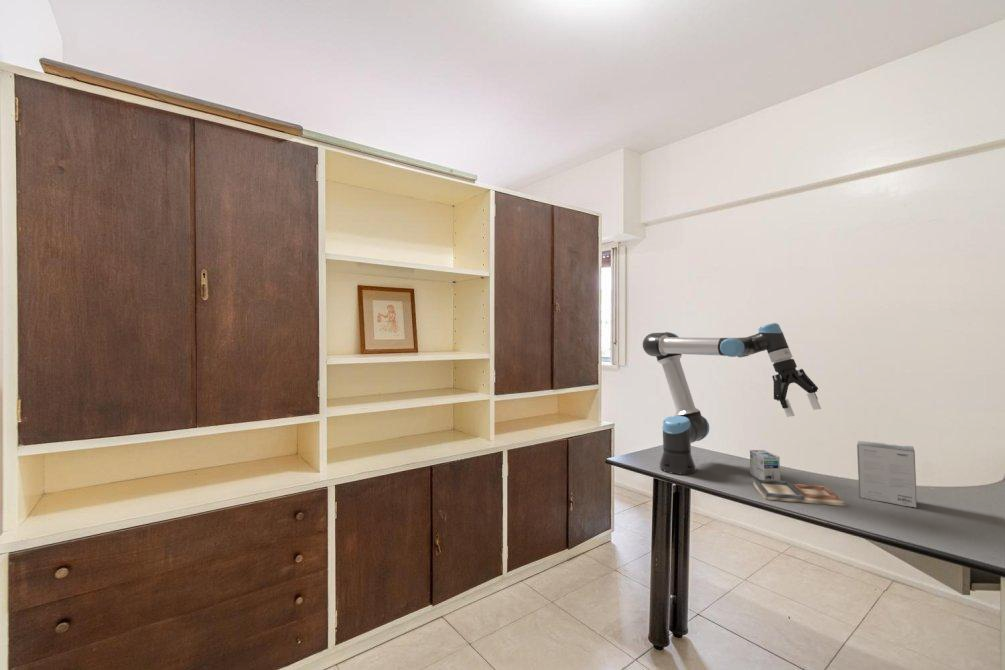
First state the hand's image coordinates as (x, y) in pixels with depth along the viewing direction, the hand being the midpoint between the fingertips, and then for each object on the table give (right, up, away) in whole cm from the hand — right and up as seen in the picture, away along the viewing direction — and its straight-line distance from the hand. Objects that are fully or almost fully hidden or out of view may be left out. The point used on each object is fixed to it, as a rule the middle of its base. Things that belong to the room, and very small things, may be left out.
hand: (804, 412), depth 163 cm
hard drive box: (+22, -30, -10) cm, 39 cm away
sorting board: (-6, -30, -4) cm, 31 cm away
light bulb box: (-6, -31, +14) cm, 34 cm away
